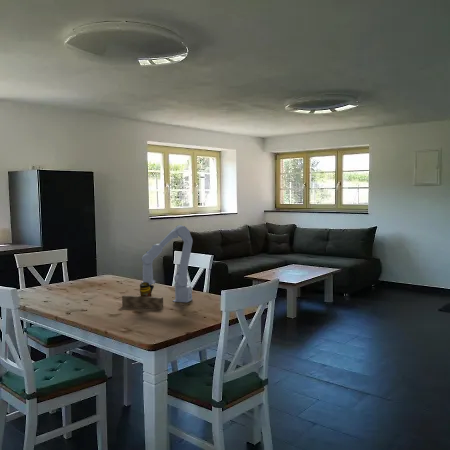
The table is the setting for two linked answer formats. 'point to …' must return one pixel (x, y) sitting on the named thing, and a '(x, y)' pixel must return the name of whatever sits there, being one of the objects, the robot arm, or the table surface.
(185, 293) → the robot arm
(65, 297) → the table surface
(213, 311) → the table surface
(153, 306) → the board
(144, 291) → the condiment
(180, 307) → the table surface
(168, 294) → the table surface
